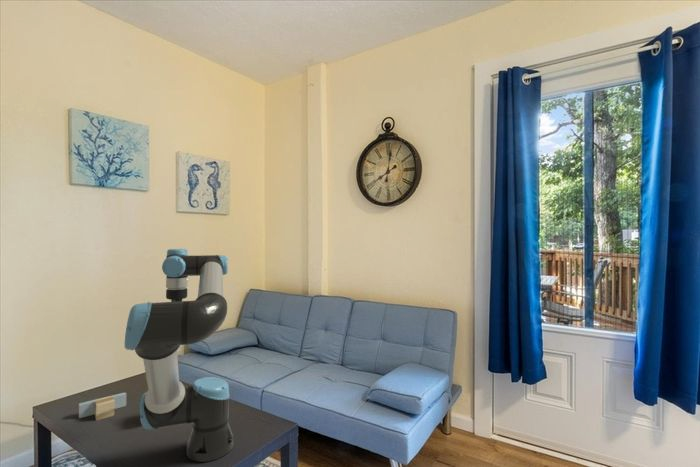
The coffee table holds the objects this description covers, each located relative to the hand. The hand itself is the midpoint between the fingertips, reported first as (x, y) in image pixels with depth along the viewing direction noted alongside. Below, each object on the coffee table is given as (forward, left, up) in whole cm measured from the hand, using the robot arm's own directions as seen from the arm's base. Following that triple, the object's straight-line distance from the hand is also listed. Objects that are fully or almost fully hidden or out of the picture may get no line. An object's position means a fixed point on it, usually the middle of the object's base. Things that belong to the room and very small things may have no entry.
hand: (175, 348), depth 137 cm
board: (+29, +20, -29) cm, 46 cm away
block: (+25, +20, -30) cm, 43 cm away
